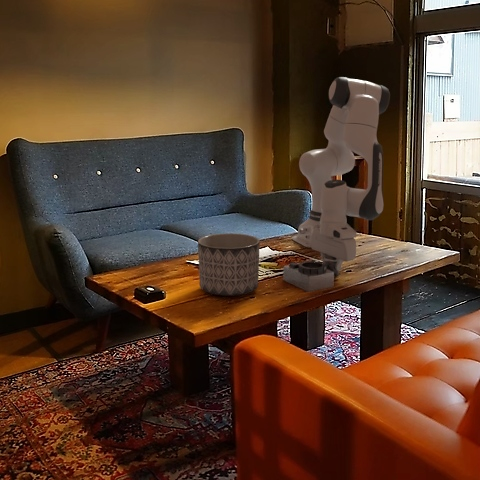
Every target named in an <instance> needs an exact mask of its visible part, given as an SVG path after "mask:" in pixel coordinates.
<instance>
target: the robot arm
mask: <svg viewBox="0 0 480 480" xmlns="http://www.w3.org/2000/svg"><path fill="white" fill-rule="evenodd" d="M389 90H390V89H389V88H387V87H386V86H384V85H382V84H377V83H374V82H371V81H367V80H363V79H355V78H349V77H346V76H345V77H344V76H339V77H336V78H334V80H333V81H332V83H331V85H330V86H329V89H328V101H329V102H330V104H331V105H332V108H331V109H330V113H329V114H328V118H327V121H326V123H325V127H324V129H323V134H324V137H325V138H326V139H327V140H328V143H327V146H326V148H319V149H312V150H309V151H307V152H306V151H305V152H304V153H303V154H301V156H300V157H299V162H298V167H299V170H300V172H301V173H302V175H303V176H304V177H306V179H307V180H308V182H309V186H310V188H311V200H312V201H311V204H312V205H311V210H308V214H309V216H308V219H306V220H304V221H303V222H302V223H301V224H300V225H299V226H298V230H297V235H294V236H292V237H291V240H293V241H294V242H296V243H298V244H300V245H302V246H304V247H305V248H311V249H312V250H313V251H316V252H319V253H320V258H321V260H322V263H324V257H325V254H328V255H330V256H333V257H335V258H336V261H337V264H336V265H334V267H335V268H334V269H335V270H337V271H339V272H340V271H341V270H342V265H343V263H344V262H352V261H354V260H355V259H356V257H357V241H356V237H357V235H358V234H357V231H356V230H355V229H354V228H353V227H351V225H350V224H348V223H347V216H349V217H356V218H361V219H363V220H368V221H373V220H375V219H376V218H378V217H379V216H380V215H381V214H382V213H383V212H384V207H385V203H384V191H383V190H384V189H383V188H384V187H383V186H384V151H383V146H382V144H380V143H379V142H378V138H377V131H378V126H379V117H380V115H381V114H383V113H385V112H386V110H387V109H388V107H389V105H390V100H391V93H390V91H389ZM354 153H355V154H357V155H358V156H360V157H362V158H363V159H364V160H365V161H366V163H367V165H368V166H367V187H366V189H363V188H354V187H350V186H348V185H347V182H346V181H345V180H342V179H333V178H332V177H334V176H342V175H344V174H346V173H349V172H350V171H352V170H353V169H354V167H355V163H356V158H355V155H354Z"/></svg>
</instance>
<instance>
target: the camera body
mask: <svg viewBox="0 0 480 480" xmlns="http://www.w3.org/2000/svg"><path fill="white" fill-rule="evenodd" d="M282 278H283V281H285V282H286V283H288V284H291V285H293V286H295V287H297V288H300V289H302V290H304V291H305V292H307V293H310V292H316V291H319V290H325V289H328V288H329V289H330V288H333V287H334V284H335V283H334V282H335V276H334V272H333V271H330V270H328V269H326V264H324V263H323V261H322V262H321V261H315V260H311V261H310V260H305V261H301V262H295V261H294V262H288V264H287V265H283V277H282Z"/></svg>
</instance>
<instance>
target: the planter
mask: <svg viewBox="0 0 480 480" xmlns="http://www.w3.org/2000/svg"><path fill="white" fill-rule="evenodd" d="M260 242H261V240H260V239H259V238H258V237H256V236H254V235H249V234H244V233H235V232H234V233H232V232H231V233H225V232H224V233H214V234H209V235H204V236H202V237H200V238H199V239H198V240H197V249H198V252H197V253H198V254H197V255H198V270H199V273H198V274H199V287H200V289H201V290H202V291H204V292H205V293H208V294H211V295H217V296H222V297H223V296H224V297H236V296H240V295H241V296H242V295H246V294H249V293H252V292H254V291H256V290H257V289H258V288H259V274H260V273H259V271H260V245H261V244H260Z"/></svg>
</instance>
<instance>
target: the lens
mask: <svg viewBox="0 0 480 480" xmlns="http://www.w3.org/2000/svg"><path fill="white" fill-rule="evenodd" d="M324 264H326V269H328V270H330V271H333V272H334V277H338V276H339V273H340V270H339V271H337V270H335V269H334V268H335V267H334V265H336V264H337V261H336V258H335V257H333V256H330V255H328V254H325V257H324Z"/></svg>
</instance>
